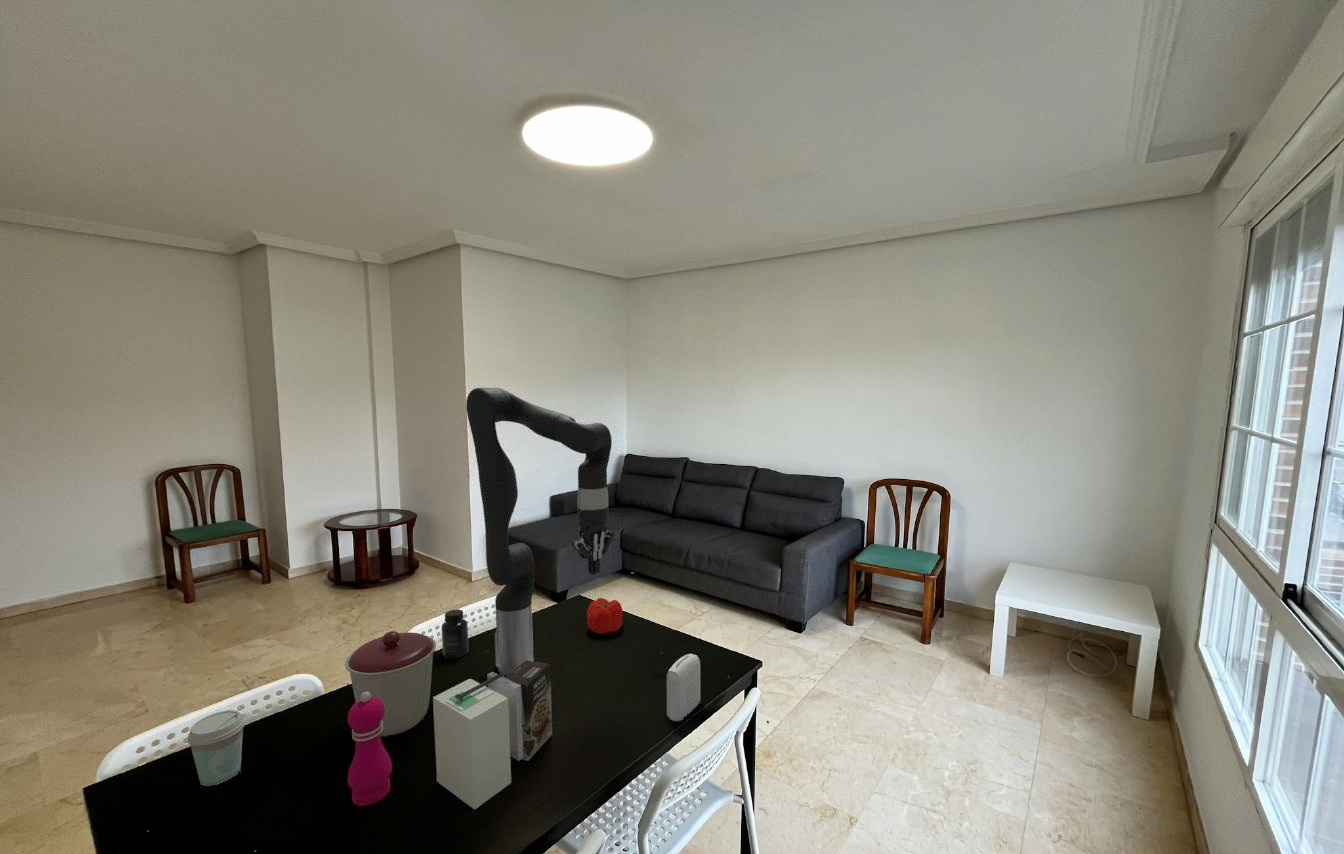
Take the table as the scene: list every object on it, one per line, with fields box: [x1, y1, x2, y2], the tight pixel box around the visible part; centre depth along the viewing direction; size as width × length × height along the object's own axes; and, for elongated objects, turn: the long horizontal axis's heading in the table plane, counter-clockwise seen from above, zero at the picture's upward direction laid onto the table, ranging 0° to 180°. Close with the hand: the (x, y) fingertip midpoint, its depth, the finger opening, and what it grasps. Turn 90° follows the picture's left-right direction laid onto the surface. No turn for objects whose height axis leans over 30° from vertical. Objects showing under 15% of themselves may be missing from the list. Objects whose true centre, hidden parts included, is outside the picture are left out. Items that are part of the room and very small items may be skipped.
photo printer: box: [666, 653, 701, 722], centre depth 127 cm, size 10×4×12 cm, turn 147°
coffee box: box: [504, 660, 553, 761], centre depth 115 cm, size 9×6×16 cm
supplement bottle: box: [441, 608, 470, 660], centre depth 154 cm, size 7×7×12 cm
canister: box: [344, 630, 437, 737], centre depth 123 cm, size 18×18×21 cm
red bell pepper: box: [586, 597, 624, 634], centre depth 168 cm, size 11×12×9 cm
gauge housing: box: [432, 678, 512, 810], centre depth 104 cm, size 12×8×17 cm, turn 54°
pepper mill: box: [347, 692, 393, 807], centre depth 101 cm, size 7×7×20 cm
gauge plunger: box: [455, 671, 523, 762], centre depth 106 cm, size 9×11×16 cm
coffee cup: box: [187, 709, 246, 786], centre depth 106 cm, size 8×8×12 cm
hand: (594, 573), depth 136 cm, fingers closed
